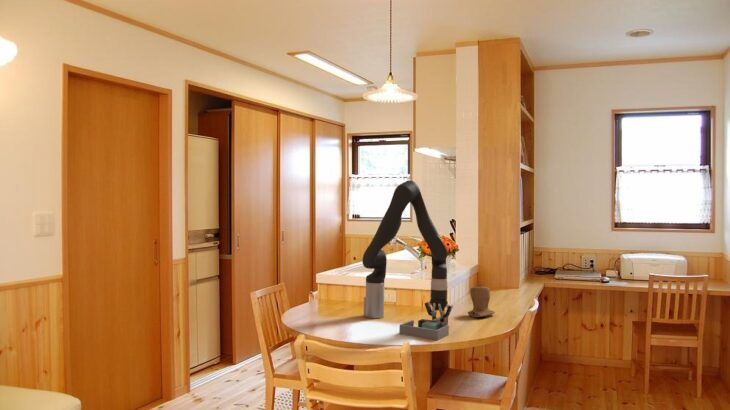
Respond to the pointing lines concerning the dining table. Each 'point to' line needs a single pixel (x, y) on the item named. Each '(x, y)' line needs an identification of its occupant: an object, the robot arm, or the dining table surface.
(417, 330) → the box
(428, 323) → the teal square block
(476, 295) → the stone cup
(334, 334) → the dining table surface
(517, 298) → the dining table surface
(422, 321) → the long-handled tray
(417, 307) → the dining table surface
